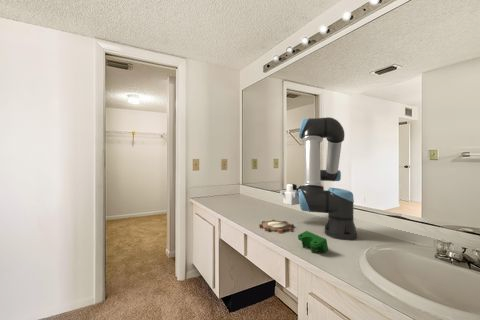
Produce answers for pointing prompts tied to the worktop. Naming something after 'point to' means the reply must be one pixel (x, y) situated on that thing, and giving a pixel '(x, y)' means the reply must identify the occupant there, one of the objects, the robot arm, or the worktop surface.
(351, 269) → the worktop surface
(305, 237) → the clamp
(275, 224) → the sprocket plate
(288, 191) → the medicine bottle
